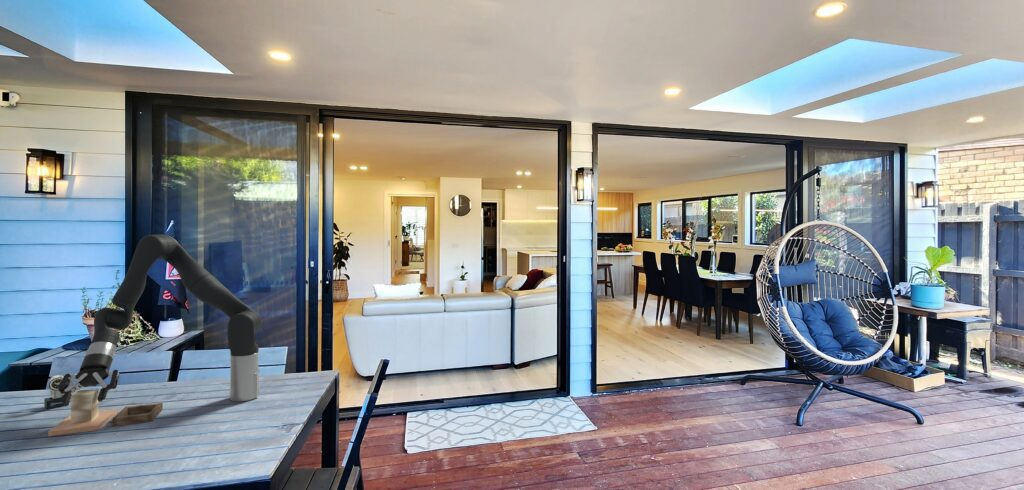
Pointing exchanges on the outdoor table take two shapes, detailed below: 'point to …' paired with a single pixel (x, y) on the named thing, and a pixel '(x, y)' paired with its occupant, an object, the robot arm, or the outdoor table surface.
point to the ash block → (84, 406)
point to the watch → (54, 394)
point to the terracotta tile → (82, 424)
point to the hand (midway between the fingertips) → (82, 402)
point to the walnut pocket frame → (124, 419)
